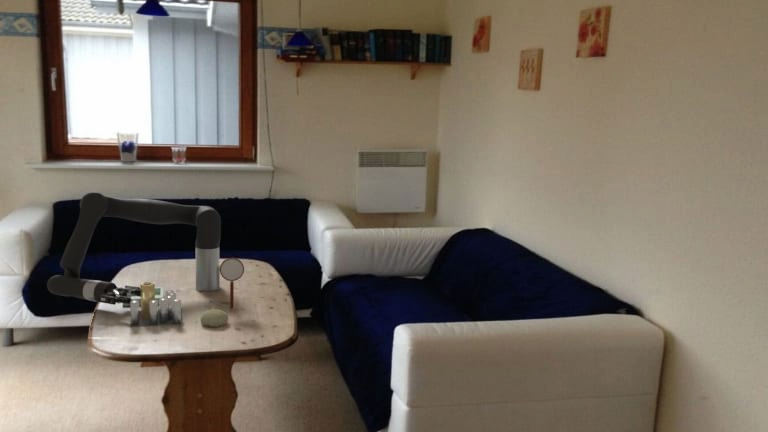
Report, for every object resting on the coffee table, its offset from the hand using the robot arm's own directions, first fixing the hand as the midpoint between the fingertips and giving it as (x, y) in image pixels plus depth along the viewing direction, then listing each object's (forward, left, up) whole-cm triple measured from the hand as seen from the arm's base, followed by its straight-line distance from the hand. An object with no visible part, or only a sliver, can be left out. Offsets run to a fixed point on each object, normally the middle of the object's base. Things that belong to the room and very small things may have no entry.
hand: (138, 297), depth 242 cm
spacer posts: (-6, +5, -7) cm, 10 cm away
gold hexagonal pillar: (-3, +2, -7) cm, 8 cm away
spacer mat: (-6, +3, -7) cm, 10 cm away
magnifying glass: (-32, -2, -7) cm, 33 cm away
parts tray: (-1, -19, -7) cm, 20 cm away
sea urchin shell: (-25, +11, -8) cm, 29 cm away
